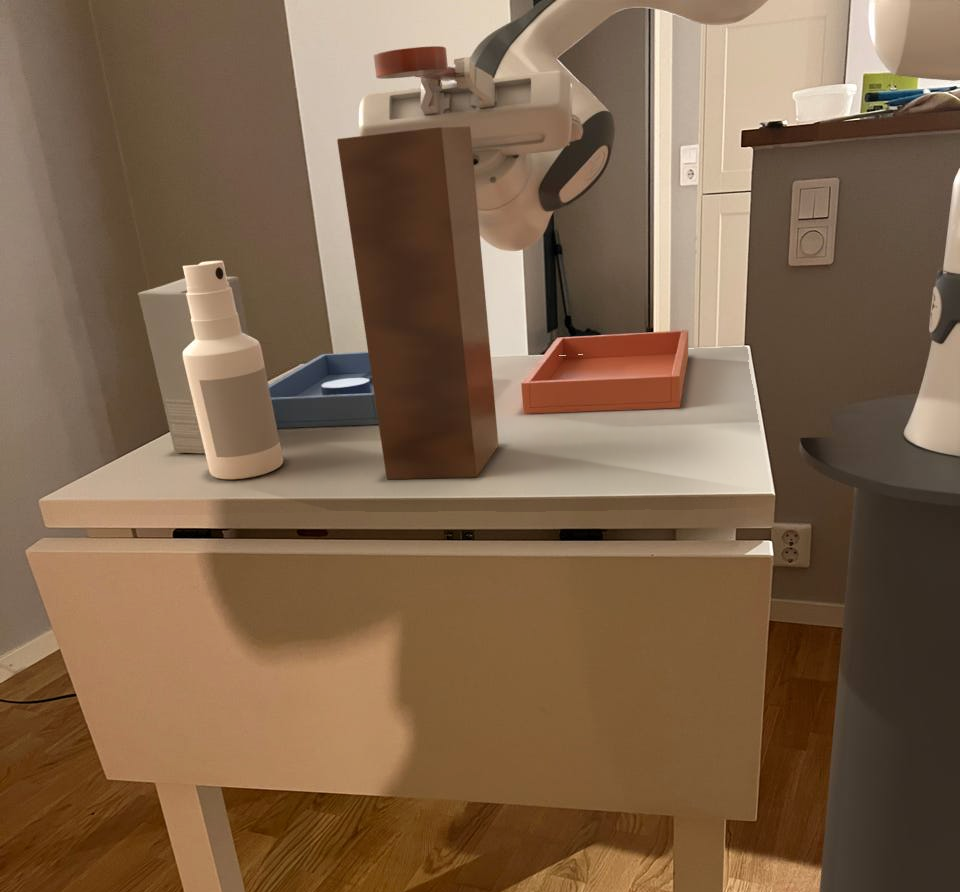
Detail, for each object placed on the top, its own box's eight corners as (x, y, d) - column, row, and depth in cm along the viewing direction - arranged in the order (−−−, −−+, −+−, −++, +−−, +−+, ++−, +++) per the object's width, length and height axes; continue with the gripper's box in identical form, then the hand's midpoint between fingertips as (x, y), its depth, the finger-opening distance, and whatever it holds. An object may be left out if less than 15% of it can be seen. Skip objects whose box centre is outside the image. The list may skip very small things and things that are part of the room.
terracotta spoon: (489, 77, 86) (487, 57, 86) (437, 67, 71) (435, 44, 70) (429, 84, 88) (427, 65, 87) (366, 77, 72) (363, 54, 71)
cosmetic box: (216, 431, 103) (181, 276, 96) (274, 431, 100) (242, 272, 93) (170, 455, 96) (128, 289, 89) (230, 455, 94) (192, 285, 86)
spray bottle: (250, 483, 85) (204, 267, 76) (194, 478, 88) (144, 270, 80) (298, 460, 90) (260, 256, 82) (244, 456, 93) (201, 259, 85)
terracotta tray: (688, 356, 113) (688, 329, 112) (679, 407, 93) (679, 375, 92) (558, 363, 117) (557, 337, 116) (523, 414, 97) (521, 383, 96)
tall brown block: (498, 446, 88) (470, 126, 76) (476, 477, 80) (441, 126, 68) (415, 448, 89) (375, 137, 78) (386, 479, 82) (336, 138, 70)
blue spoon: (408, 369, 122) (407, 357, 121) (362, 400, 106) (360, 386, 106) (367, 372, 123) (366, 360, 123) (315, 402, 108) (313, 388, 107)
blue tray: (442, 372, 119) (439, 347, 118) (383, 424, 99) (379, 394, 97) (325, 378, 123) (321, 354, 121) (246, 429, 103) (240, 400, 101)
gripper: (585, 173, 93) (562, 89, 80) (387, 193, 98) (335, 116, 85) (586, 110, 93) (564, 15, 80) (389, 133, 98) (337, 47, 85)
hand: (444, 67), depth 82 cm, fingers closed on terracotta spoon, 2 cm apart
